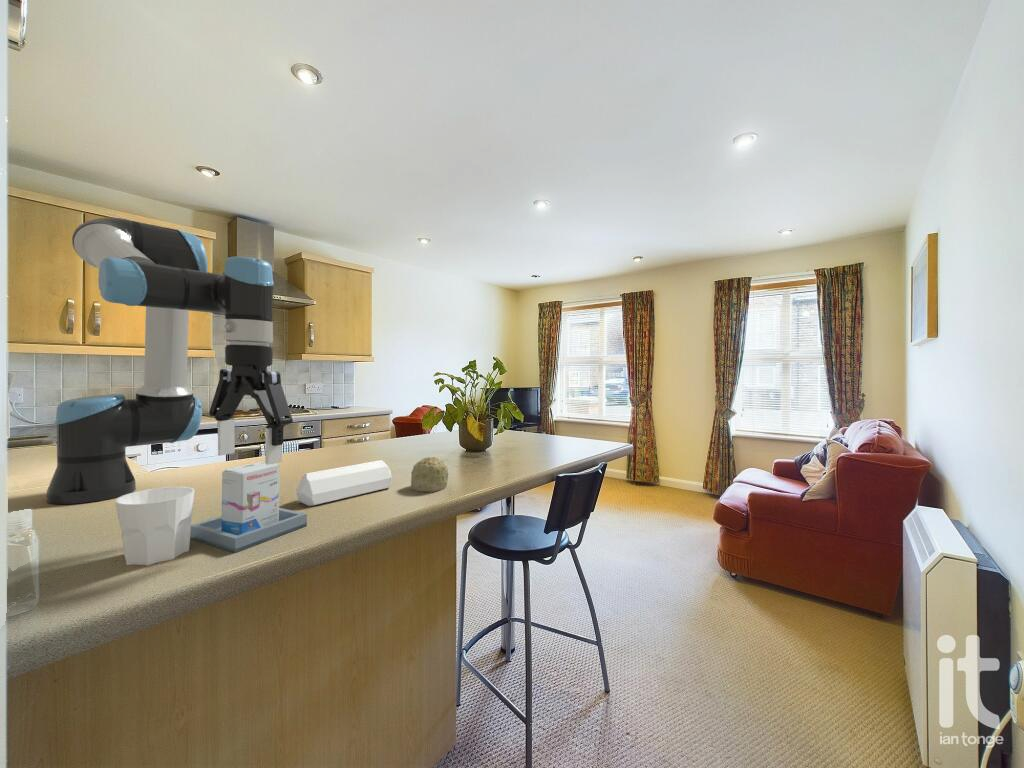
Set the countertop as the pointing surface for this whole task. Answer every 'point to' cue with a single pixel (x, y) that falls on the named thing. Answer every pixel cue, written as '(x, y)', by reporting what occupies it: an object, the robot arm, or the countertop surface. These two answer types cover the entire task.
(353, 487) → the crystal
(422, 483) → the decorative object
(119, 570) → the countertop surface
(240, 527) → the ink box
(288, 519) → the tray
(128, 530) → the cup
